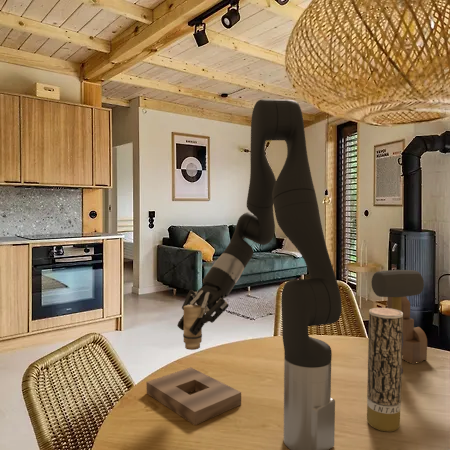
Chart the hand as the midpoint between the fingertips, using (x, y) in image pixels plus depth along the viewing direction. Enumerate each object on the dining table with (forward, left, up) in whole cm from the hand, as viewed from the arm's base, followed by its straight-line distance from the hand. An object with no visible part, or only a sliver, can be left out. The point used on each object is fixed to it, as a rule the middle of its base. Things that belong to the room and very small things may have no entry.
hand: (186, 330), depth 100 cm
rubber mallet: (-27, -52, -18) cm, 61 cm away
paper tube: (-37, -26, -18) cm, 48 cm away
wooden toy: (-20, -70, -18) cm, 75 cm away
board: (0, -2, -17) cm, 18 cm away
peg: (0, -2, -5) cm, 5 cm away
